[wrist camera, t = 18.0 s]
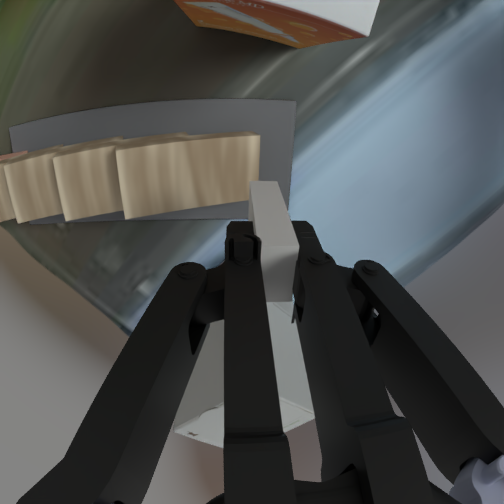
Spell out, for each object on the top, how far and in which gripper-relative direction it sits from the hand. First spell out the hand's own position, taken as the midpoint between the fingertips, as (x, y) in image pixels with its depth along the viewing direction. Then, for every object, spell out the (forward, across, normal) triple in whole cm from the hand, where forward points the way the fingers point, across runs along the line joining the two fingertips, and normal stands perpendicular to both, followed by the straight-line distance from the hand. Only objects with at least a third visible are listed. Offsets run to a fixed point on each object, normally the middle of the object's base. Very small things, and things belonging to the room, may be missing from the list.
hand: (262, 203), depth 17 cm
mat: (+8, +10, 0) cm, 13 cm away
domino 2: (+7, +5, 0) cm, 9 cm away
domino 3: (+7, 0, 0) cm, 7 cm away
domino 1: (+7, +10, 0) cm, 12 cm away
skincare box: (+9, +1, +12) cm, 15 cm away
